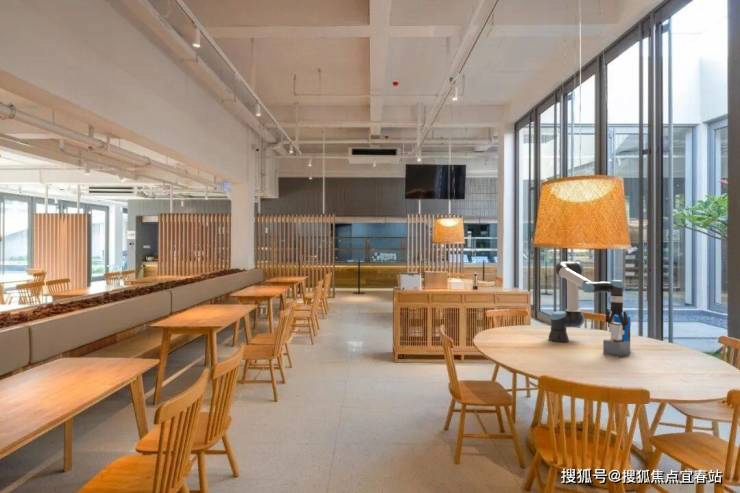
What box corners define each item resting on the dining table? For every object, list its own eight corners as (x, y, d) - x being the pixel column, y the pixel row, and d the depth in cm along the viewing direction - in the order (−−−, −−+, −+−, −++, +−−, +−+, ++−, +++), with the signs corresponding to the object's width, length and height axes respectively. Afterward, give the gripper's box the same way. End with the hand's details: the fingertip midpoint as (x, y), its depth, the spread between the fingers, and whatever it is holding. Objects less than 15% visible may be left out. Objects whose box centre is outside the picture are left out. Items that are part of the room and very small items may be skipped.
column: (610, 353, 299) (610, 322, 298) (614, 352, 302) (615, 322, 301) (617, 355, 294) (617, 324, 294) (622, 354, 297) (622, 323, 297)
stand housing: (603, 353, 300) (603, 338, 300) (613, 351, 306) (613, 336, 306) (620, 357, 290) (620, 341, 290) (629, 355, 296) (629, 339, 295)
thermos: (625, 347, 318) (625, 314, 318) (633, 350, 307) (633, 317, 307) (610, 346, 319) (611, 314, 319) (617, 350, 309) (617, 317, 308)
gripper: (599, 300, 305) (599, 331, 305) (628, 304, 287) (628, 336, 287) (605, 299, 308) (605, 330, 309) (634, 303, 290) (634, 335, 291)
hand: (616, 333), depth 298 cm, fingers open, 8 cm apart
